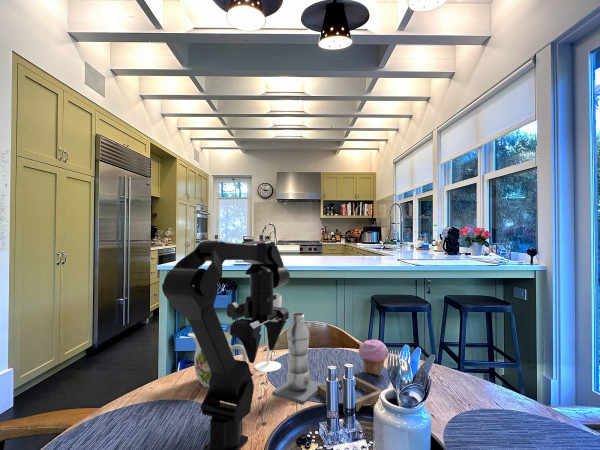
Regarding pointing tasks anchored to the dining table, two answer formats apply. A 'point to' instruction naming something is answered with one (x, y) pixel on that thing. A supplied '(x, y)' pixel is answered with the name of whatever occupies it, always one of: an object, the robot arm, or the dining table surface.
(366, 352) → the cupcake
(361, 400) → the caddy frame
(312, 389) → the slate mat
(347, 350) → the dining table surface
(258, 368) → the wineglass
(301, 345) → the plastic bottle
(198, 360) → the pitcher
